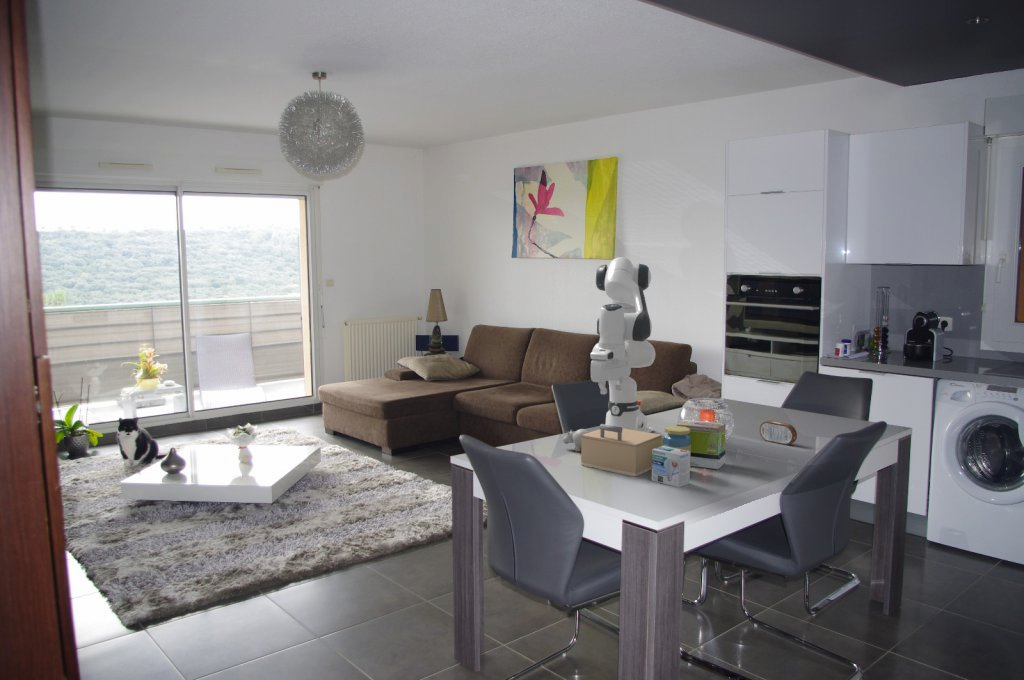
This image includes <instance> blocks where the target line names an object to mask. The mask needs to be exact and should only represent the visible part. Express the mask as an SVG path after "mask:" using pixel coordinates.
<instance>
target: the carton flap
mask: <svg viewBox="0 0 1024 680" xmlns="http://www.w3.org/2000/svg"><path fill="white" fill-rule="evenodd" d="M581 437H583V438H588V439H594V440H599V441H605V442H610V443H616V444H621V445H627V446H633V447H637V446H640V445H642V444H645V443H648V442H650V441H653V440H656V439H658V438H661V437H662V438H663V434H659V433H652V432H650V433H648V432H642V431H636V430H630V429H624V428H622V427H617V426H611V425H606V423H605V424H604V423H601V424H600V425H599V429H596V430H592V431H589V433H586V434H583V435H581Z"/></svg>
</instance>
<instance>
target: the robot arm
mask: <svg viewBox="0 0 1024 680" xmlns="http://www.w3.org/2000/svg"><path fill="white" fill-rule="evenodd" d="M651 282H652V273H651V270H650V267H649V266H648V265H646V264H642V263H639V264H635V263H632V261H631V260H630V259H629V258H627V257H623V256H620V257H616V258H614V259H612V260H611V261H610V262H609V264H603V265H600V266H598V267H597V268H596V271H595V273H594V283H595V286H596V288H597V290H600V291H602V292H605V294H606V295H607V296H608V298H609V299H610V303H608V304H604V305H602V306H601V308H600V311H599V317H598V318H597V320H596V333H597V335H598V336H599V340H598V342H597V343H596V344H595V345H594V346H593V348H592V350H591V352H590V357H589V358H590V360H591V361H590V380H591V381H592V382H594V383H598V387H599V389H600V394H601V395H607V394H608V389H609V400H608V404H607V405H608V406H607V407H608V408H607V409H608V411H606V415H605V425H611V426H617V427H622V428H624V429H630V430H636V431H642V432H648V433H652V432H653V431H654V428H653V427H651V426H648V417H647V416H646V415H645V414H644V413H643V412H642V411H641V410H640V408H639V406H642V403H643V401H642V400H639V399H637V391H638V389H637V388H638V387H637V382H636V380H635V379H633V378H632V377H631V376H630V375H631V371H632V370H631V369H632V368H633V369H635V368H639V369H641V368H645V367H650V366H651V365H653V363H654V361H655V359H656V349H655V347H654V346H653V344H652V343H651V342H649V341H648V338H650V337H651V334H652V328H653V327H652V326H653V325H652V320H651V318H650V315H649V312H648V306H647V301H646V297H645V294H644V291H646V290H647V289H648V288H649V286H650V284H651ZM607 382H608V385H609V386H608V388H606V383H607Z"/></svg>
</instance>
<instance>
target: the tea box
mask: <svg viewBox="0 0 1024 680" xmlns="http://www.w3.org/2000/svg"><path fill="white" fill-rule="evenodd" d="M676 426H683V427H687V428H690V433H689V434H687V435H689V436H690V437H691V458H690V467H697V468H698V467H700V468H705V469H712V470H718V469H720V468H721V467H722V466H723V465H724V464H725V463H726V423H725V422H715V421H706V420H705V421H704V420H702V421H701V420H692V419H684V420H682V421H680V422H679V423H677V424H676Z"/></svg>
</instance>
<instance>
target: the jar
mask: <svg viewBox="0 0 1024 680" xmlns="http://www.w3.org/2000/svg"><path fill="white" fill-rule="evenodd" d="M664 433H667V434H665V435H664V436H663V446H667V447H672V448H677V449H681V450H686V451H690V458H691V437H690V436H689V435H687V434H689V433H690V428H687V427H683V426H677V425H670V426H666V427H665V428H664Z"/></svg>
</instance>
